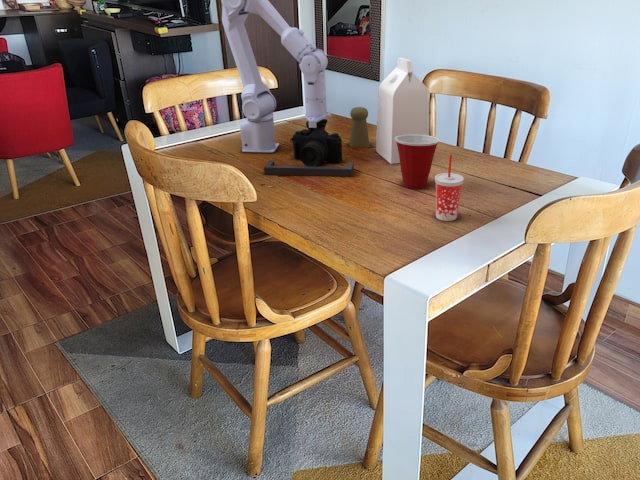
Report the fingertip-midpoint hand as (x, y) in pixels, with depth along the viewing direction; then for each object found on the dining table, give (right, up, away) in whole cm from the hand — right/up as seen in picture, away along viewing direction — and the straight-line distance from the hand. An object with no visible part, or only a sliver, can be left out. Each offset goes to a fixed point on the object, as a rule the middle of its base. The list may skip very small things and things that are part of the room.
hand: (317, 146), depth 163 cm
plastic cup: (+26, -14, -20) cm, 36 cm away
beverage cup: (+31, -24, -37) cm, 54 cm away
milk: (+24, -3, 0) cm, 24 cm away
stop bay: (-1, -9, -11) cm, 15 cm away
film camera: (0, -6, -5) cm, 8 cm away
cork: (+12, +2, +9) cm, 15 cm away
